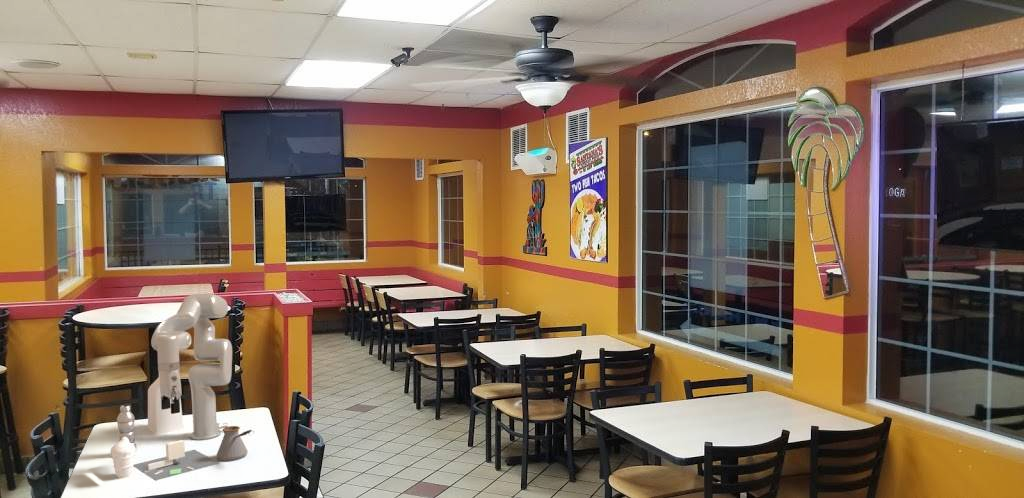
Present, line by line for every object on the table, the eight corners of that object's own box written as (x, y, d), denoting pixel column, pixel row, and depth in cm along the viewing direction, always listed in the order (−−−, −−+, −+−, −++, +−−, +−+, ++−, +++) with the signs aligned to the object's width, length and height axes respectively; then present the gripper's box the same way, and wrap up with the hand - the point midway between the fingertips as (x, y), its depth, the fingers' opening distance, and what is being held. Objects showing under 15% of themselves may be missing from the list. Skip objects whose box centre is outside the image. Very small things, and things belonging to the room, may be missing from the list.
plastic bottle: (129, 457, 303) (126, 408, 302) (114, 456, 304) (112, 407, 303) (140, 451, 309) (137, 404, 308) (126, 451, 311) (123, 403, 309)
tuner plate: (194, 453, 306) (194, 448, 306) (220, 466, 289) (220, 462, 289) (132, 468, 289) (131, 464, 289) (155, 484, 272) (155, 479, 272)
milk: (147, 429, 341) (144, 372, 340) (174, 423, 349) (171, 368, 347) (156, 434, 332) (153, 376, 331) (183, 429, 340) (180, 372, 339)
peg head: (182, 460, 292) (181, 439, 292) (185, 462, 290) (184, 441, 290) (147, 469, 283) (146, 448, 282) (150, 471, 281) (148, 449, 281)
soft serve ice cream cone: (119, 485, 272) (117, 442, 271) (107, 481, 277) (104, 438, 276) (141, 478, 279) (139, 435, 278) (128, 474, 284) (126, 432, 283)
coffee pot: (211, 461, 296) (209, 423, 295) (238, 453, 305) (236, 417, 304) (239, 473, 282) (237, 434, 281) (266, 464, 291) (265, 426, 290)
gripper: (187, 368, 285) (189, 412, 285) (170, 362, 297) (172, 405, 298) (167, 371, 280) (169, 416, 280) (150, 365, 292) (152, 409, 293)
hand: (170, 410), depth 289 cm, fingers open, 9 cm apart
